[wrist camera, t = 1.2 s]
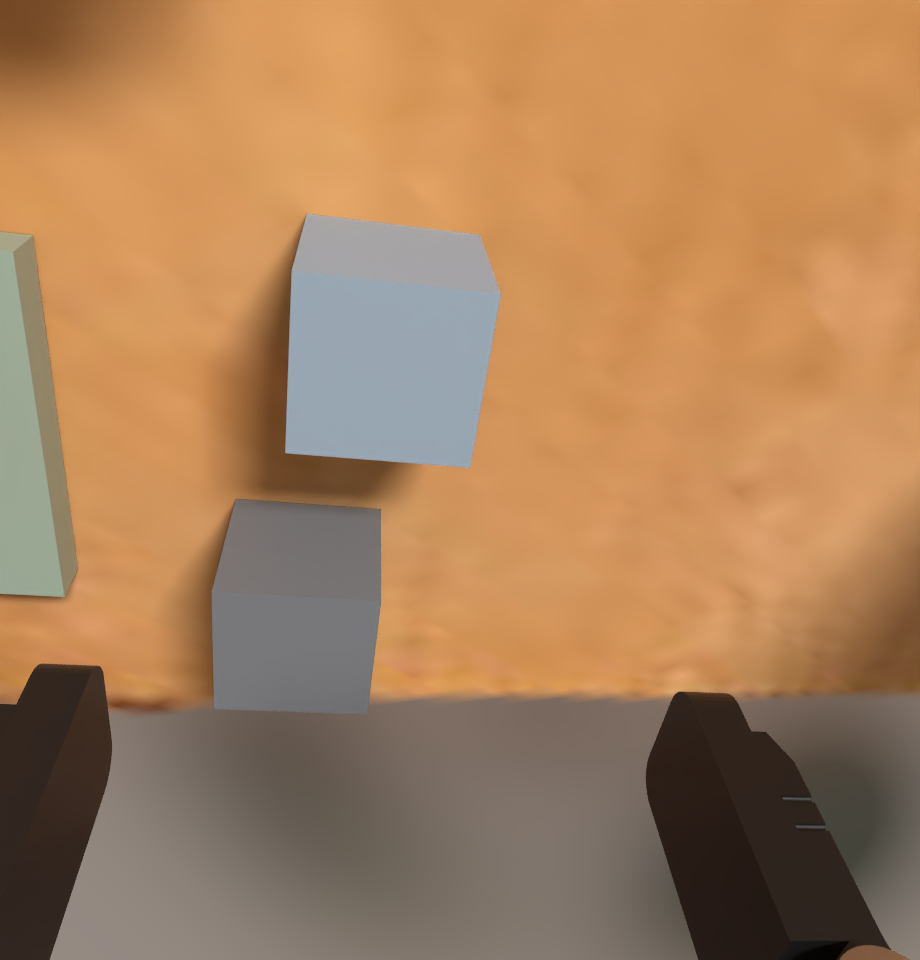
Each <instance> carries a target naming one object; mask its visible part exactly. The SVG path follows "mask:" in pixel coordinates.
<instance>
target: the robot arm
mask: <svg viewBox="0 0 920 960" xmlns="http://www.w3.org/2000/svg"><path fill="white" fill-rule="evenodd" d="M111 755H112V739H111V731H110V724H109V715H108V707H107V699H106V691H105V683H104V675H103V671H102V669H101V667H100V666H86V665H62V664H39V665H38V666H37V667H35V669H34V670H33V672H32V674H31V675H30V677H29V679H28V682H27V684H26V686H25V688H24V690H23V692H22V694H21V696H20V698H19V700H18V702H17V704H16V705H13V704H0V960H50V956H51V954H52V951H53V947H54V944H55V941H56V938H57V935H58V932H59V929H60V926H61V923H62V920H63V917H64V914H65V911H66V908H67V905H68V902H69V899H70V896H71V893H72V889H73V886H74V883H75V880H76V877H77V874H78V871H79V868H80V865H81V862H82V859H83V856H84V853H85V850H86V847H87V844H88V841H89V838H90V834H91V831H92V828H93V825H94V822H95V819H96V816H97V813H98V810H99V807H100V804H101V801H102V798H103V795H104V792H105V788H106V785H107V781H108V776H109V771H110V764H111ZM646 788H647V795H648V800H649V804H650V807H651V810H652V813H653V816H654V820H655V823H656V826H657V829H658V832H659V836H660V839H661V842H662V845H663V848H664V851H665V855H666V858H667V861H668V864H669V868H670V870H671V874H672V877H673V880H674V883H675V887H676V890H677V893H678V896H679V899H680V903H681V906H682V909H683V912H684V915H685V919H686V921H687V925H688V928H689V931H690V934H691V938H692V941H693V944H694V947H695V950H696V954H697V957H698V960H909V959H907V958H906V957H905V956H903V955H900V954H899V953H897V952H895V951H892V950H891V949H890V948H889V946H888V945H887V943H886V942H885V940H884V938H883V936H882V934H881V932H880V931H879V928H878V926H877V924H876V923H875V921H874V919H873V917H872V915H871V913H870V911H869V909H868V907H867V905H866V903H865V901H864V899H863V897H862V895H861V893H860V892H859V889H858V888H857V885H856V883H855V881H854V879H853V877H852V875H851V874H850V872H849V869H848V867H847V866H846V864H845V861H844V860H843V858H842V856H841V854H840V852H839V850H838V848H837V846H836V844H835V842H834V840H833V838H832V836H831V834H830V832H829V831H826V829H825V822H824V820H823V818H822V816H821V814H820V812H819V810H818V808H817V807H816V804H815V803H812V802H811V794H810V793H809V791H808V788H807V787H806V785H805V783H804V781H803V779H802V777H801V775H800V773H799V771H798V769H797V767H796V765H795V763H794V761H793V760H792V759H791V758H790V757H789V756H788V755H787V754H786V753H785V752H784V751H783V750H782V749H781V748H780V747H779V746H778V744H777V743H776V742H775V741H774V740H773V739H772V738H771V737H770V736H769V735H768V734H767V733H766V732H751V730H750V728H749V726H748V724H747V722H746V719H745V717H744V715H743V713H742V711H741V709H740V707H739V705H738V703H737V701H736V700H735V698H734V697H733V696H731V695H730V694H726V693H702V692H678V693H676V694H675V695H674V697H673V699H672V701H671V703H670V705H669V708H668V711H667V713H666V715H665V718H664V721H663V723H662V725H661V728H660V730H659V733H658V736H657V738H656V741H655V743H654V745H653V748H652V750H651V753H650V756H649V759H648V762H647V769H646Z"/></svg>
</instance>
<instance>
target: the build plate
mask: <svg viewBox="0 0 920 960" xmlns="http://www.w3.org/2000/svg"><path fill="white" fill-rule="evenodd" d="M77 570H78V566H77V559H76V551H75V544H74V536H73V529H72V521H71V514H70V507H69V499H68V492H67V484H66V477H65V470H64V462H63V455H62V447H61V440H60V432H59V425H58V418H57V410H56V403H55V395H54V388H53V381H52V373H51V366H50V358H49V351H48V343H47V336H46V329H45V321H44V314H43V306H42V299H41V292H40V284H39V277H38V269H37V262H36V254H35V247H34V240H33V235H24V234H15V233H6V232H0V594H17V595H36V596H55V597H65V595H66V593H67V591H68V589H69V587H70V584H71V582H72V580H73V578H74V576H75V574H76V572H77Z"/></svg>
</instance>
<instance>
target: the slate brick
mask: <svg viewBox="0 0 920 960" xmlns="http://www.w3.org/2000/svg"><path fill="white" fill-rule="evenodd" d="M211 593H212V640H213V688H214V709H228V710H256V711H257V710H258V711H284V712H313V713H315V712H316V713H342V714H343V713H345V714H367V712H368V704H369V696H370V688H371V680H372V671H373V663H374V655H375V647H376V639H377V630H378V622H379V614H380V606H381V509H372V508H359V507H345V506H331V505H317V504H303V503H289V502H275V501H261V500H247V499H236V500H235V504H234V508H233V512H232V515H231V519H230V523H229V527H228V531H227V534H226V538H225V542H224V546H223V550H222V554H221V557H220V561H219V565H218V569H217V573H216V577H215V580H214V584H213V588H212V592H211Z"/></svg>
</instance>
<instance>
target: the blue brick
mask: <svg viewBox="0 0 920 960" xmlns="http://www.w3.org/2000/svg"><path fill="white" fill-rule="evenodd" d="M500 296H501V293H500V290H499V287H498V284H497V282H496V279H495V276H494V273H493V270H492V268H491V265H490V262H489V259H488V256H487V253H486V251H485V248H484V245H483V242H482V239H481V237H480V235H478V234H470V233H461V232H453V231H445V230H437V229H429V228H420V227H412V226H404V225H396V224H387V223H379V222H371V221H363V220H355V219H346V218H338V217H330V216H322V215H314V214H307V215H306V219H305V223H304V226H303V230H302V234H301V238H300V241H299V245H298V249H297V252H296V256H295V260H294V264H293V267H292V274H291V302H290V331H289V359H288V387H287V416H286V444H285V453H289V454H302V455H315V456H327V457H340V458H353V459H365V460H378V461H391V462H404V463H416V464H429V465H442V466H454V467H467V468H470V466H471V460H472V454H473V449H474V443H475V437H476V432H477V426H478V420H479V415H480V409H481V403H482V398H483V392H484V386H485V381H486V375H487V369H488V364H489V358H490V352H491V347H492V341H493V335H494V330H495V324H496V318H497V313H498V307H499V301H500Z"/></svg>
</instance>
